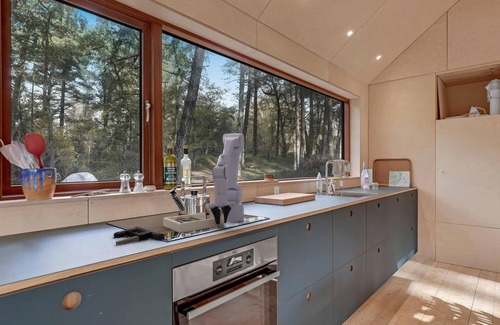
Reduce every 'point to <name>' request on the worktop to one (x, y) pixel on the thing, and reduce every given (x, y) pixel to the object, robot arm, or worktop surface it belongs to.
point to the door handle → (137, 235)
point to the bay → (189, 223)
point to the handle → (221, 220)
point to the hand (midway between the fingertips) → (221, 223)
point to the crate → (186, 219)
